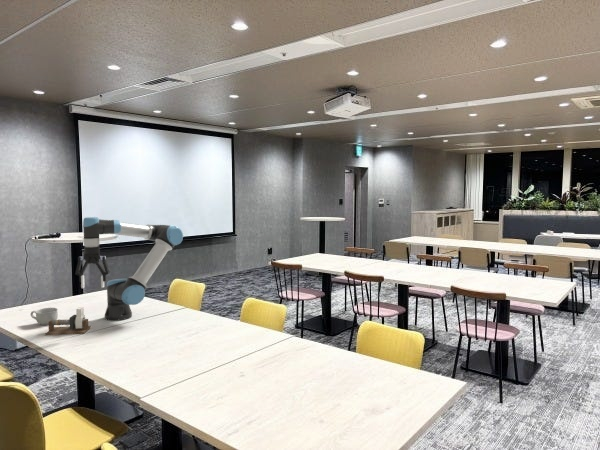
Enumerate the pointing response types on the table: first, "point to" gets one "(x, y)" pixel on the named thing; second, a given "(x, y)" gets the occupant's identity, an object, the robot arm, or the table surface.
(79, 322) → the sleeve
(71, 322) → the charcoal slab
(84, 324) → the pipe rig
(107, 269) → the robot arm
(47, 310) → the teacup
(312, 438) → the table surface
